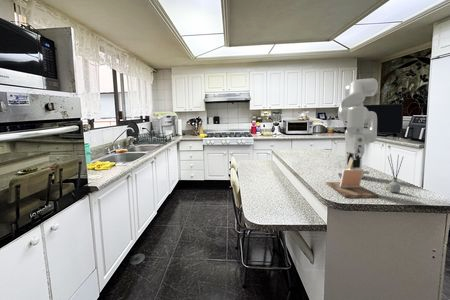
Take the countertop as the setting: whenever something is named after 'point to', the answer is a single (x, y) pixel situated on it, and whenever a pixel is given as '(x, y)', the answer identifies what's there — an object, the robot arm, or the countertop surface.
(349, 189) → the board
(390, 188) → the reed diffuser
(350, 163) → the trowel
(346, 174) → the tile
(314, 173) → the countertop surface
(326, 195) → the countertop surface
